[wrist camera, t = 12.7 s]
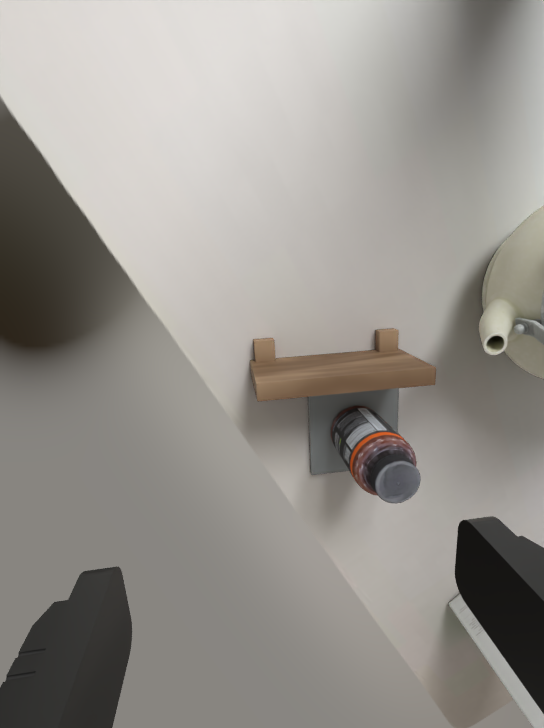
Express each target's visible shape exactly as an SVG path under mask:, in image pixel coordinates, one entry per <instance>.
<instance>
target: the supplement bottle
mask: <svg viewBox="0 0 544 728" xmlns="http://www.w3.org/2000/svg"><path fill="white" fill-rule="evenodd" d="M331 439H332V442H333V444H334V446H335V448H336V450H337V451H338V453H339V455H340V456H341V458H342V459H343V461H344V463H345V464H346V466H347V468H348V469H349V471H350V473H351V474H352V476H353V477H354V479H355V481H356V482H357V483H358V485H359V486H360V487H361V488H362V489H363V490H365V491H366V492H368V493H370V494H373V495H378V496H379V497H380V498H381V499H382V500H384V501H386V502H388V503H401V502H404V501H406V500H408V499H409V498H411V497H412V496H413V495H414V494H415V493H416V492H417V490H418V488H419V485H420V473H419V471H418V469H417V468H416V456H415V453H414V451H413V449H412V448H411V446H410V445H409V444H408V443H407V442H406V441H405V440H404V438H402V437H401V436H400V435H399V434H398V433H397V432H396V431H395V430H394V429H393V428H392V427H391V426H390V425H389V424H388V423H387V422H386V421H385V420H384V419H383V418H382V417H381V416H379V415H378V414H377V413H376V412H375V411H374V410H372V409H370V408H368V407H365V406H353V407H349V408H347V409H345V410H343V411H342V412H341V413H340V414H338V416H337V417H336V418H335V420H334V421H333V424H332V427H331Z"/></svg>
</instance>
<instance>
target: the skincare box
mask: <svg viewBox="0 0 544 728" xmlns="http://www.w3.org/2000/svg"><path fill="white" fill-rule="evenodd" d="M449 606H450V608H451V609H452V611H453V612H454V613H455V615H456V616H457V618H458V619H459V621H460V622H461V624H462V625H463V627H464V628H465V629H466V631H467V632H468V634H469V635H470V637H471V638H472V640H473V641H474V642H475V644H476V645H477V647H478V648H479V650H480V651H481V653H482V654H483V656H484V657H485V659H486V660H487V662H488V663H489V664H490V666H491V667H492V669H493V670H494V672H495V673H496V675H497V676H498V678H499V679H500V681H501V682H502V683H503V685H504V686H505V688H506V689H507V691H508V692H509V694H510V695H511V697H512V698H513V699H514V701H515V702H516V704H517V705H518V707H519V708H520V710H521V711H522V713H523V714H524V715H525V717H526V719H527V720H528V721H529V723H530V724H531V726H532V727H533V728H544V714H543V713H542V711H541V710H540V708H539V707H538V706H537V704H536V703H535V701H534V700H533V698H532V697H531V696H530V694H529V693H528V691H527V690H526V688H525V687H524V686H523V684H522V683H521V681H520V680H519V679H518V677H517V676H516V674H515V673H514V671H513V670H512V669H511V667H510V666H509V664H508V663H507V662H506V660H505V659H504V657H503V656H502V654H501V653H500V652H499V650H498V649H497V647H496V646H495V644H494V643H493V642H492V640H491V639H490V637H489V636H488V635H487V633H486V632H485V630H484V629H483V627H482V626H481V625H480V623H479V622H478V620H477V619H476V617H475V616H474V615H473V613H472V612H471V610H470V609H469V608H468V606H467V605H466V603H465V602H464V600H463V598H462V597H461V594H459V595H458V596H457V597H455V598H454V599H453V600H452V601H451V602H449Z"/></svg>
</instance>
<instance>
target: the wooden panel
mask: <svg viewBox="0 0 544 728" xmlns="http://www.w3.org/2000/svg"><path fill="white" fill-rule="evenodd" d="M253 340H254V355H255V360H250V366H251V377H252V381H253V385H254V389H255V393H256V397H257V401H268V400H278V399H289V398H299V397H310V396H321V395H331V394H342V393H352V392H363V391H373V390H384V389H395V388H405V387H416V386H426V385H435V379H436V367H434V366H432V365H430V364H428V363H426V362H424V361H422V360H420V359H418V358H416V357H414V356H412V355H410V354H408V353H406V352H404V351H402V350H400V349H398V330H396V329H394V328H392V329H380V330H376V334H375V350H369V351H357V352H345V353H333V354H322V355H310V356H298V357H286V358H275V346H274V339H273V338H265V339H253Z"/></svg>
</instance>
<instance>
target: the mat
mask: <svg viewBox="0 0 544 728" xmlns="http://www.w3.org/2000/svg"><path fill="white" fill-rule="evenodd" d="M398 397H399V388H395V389H384V390H373V391H363V392H352V393H342V394H331V395H321V396H310V397H308V408H309V439H310V469H311V474H312V475H316V474H325V473H333V472H342V471H349V469H348V468H347V466H346V464H345V463H344V461H343V459H342V458H341V456H340V455H339V453H338V451H337V450H336V448H335V446H334V444H333V442H332V439H331V427H332V424H333V421H334V420H335V418H336V417H337V416H338V414H340V413H341V412H342V411H343V410H345V409H347V408H349V407H353V406H365V407H368V408H370V409H372V410H374V411H375V412H376V413H377V414H378V415H379V416H381V417H382V418H383V419H384V420H385V421H386V422H387V423H388V424H389V425H390V426H391V427H392V428H393V429H394V430H395V431H396V432H397V430H398Z"/></svg>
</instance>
